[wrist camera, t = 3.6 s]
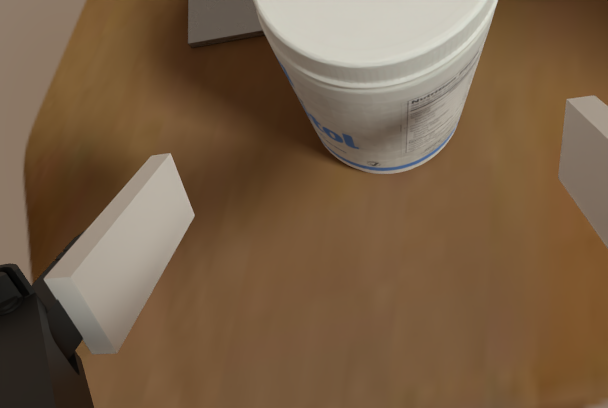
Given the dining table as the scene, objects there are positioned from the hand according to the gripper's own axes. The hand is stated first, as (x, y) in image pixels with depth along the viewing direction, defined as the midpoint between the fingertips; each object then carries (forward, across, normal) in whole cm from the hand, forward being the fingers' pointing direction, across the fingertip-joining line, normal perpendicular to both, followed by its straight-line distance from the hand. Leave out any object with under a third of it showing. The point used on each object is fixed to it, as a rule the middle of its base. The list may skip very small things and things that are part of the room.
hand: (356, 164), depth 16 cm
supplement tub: (+15, +1, -4) cm, 16 cm away
